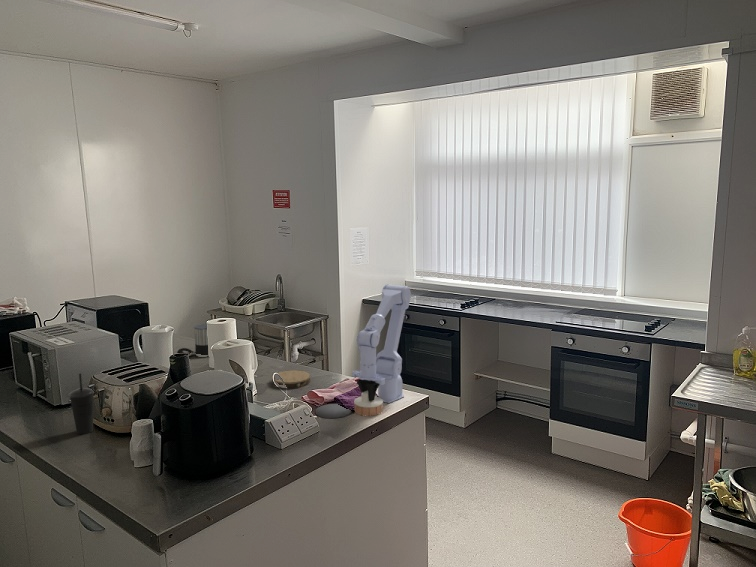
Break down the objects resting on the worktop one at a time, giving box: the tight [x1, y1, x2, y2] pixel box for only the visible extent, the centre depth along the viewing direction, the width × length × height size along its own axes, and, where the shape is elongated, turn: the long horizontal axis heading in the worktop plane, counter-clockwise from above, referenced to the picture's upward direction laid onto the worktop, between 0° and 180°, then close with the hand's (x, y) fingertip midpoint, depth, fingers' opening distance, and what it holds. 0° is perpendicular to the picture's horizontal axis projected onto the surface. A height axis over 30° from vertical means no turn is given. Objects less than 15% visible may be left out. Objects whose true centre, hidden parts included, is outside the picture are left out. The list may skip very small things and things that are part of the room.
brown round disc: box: [271, 369, 311, 390], centre depth 242 cm, size 16×16×3 cm
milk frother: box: [176, 323, 208, 355], centre depth 281 cm, size 14×16×15 cm
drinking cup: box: [68, 373, 95, 435], centre depth 192 cm, size 8×8×20 cm
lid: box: [353, 390, 384, 408], centre depth 210 cm, size 10×10×4 cm
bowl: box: [353, 402, 384, 417], centre depth 210 cm, size 10×10×3 cm
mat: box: [315, 403, 352, 419], centre depth 210 cm, size 13×13×1 cm
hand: (368, 399), depth 210 cm, fingers closed on lid, 2 cm apart
